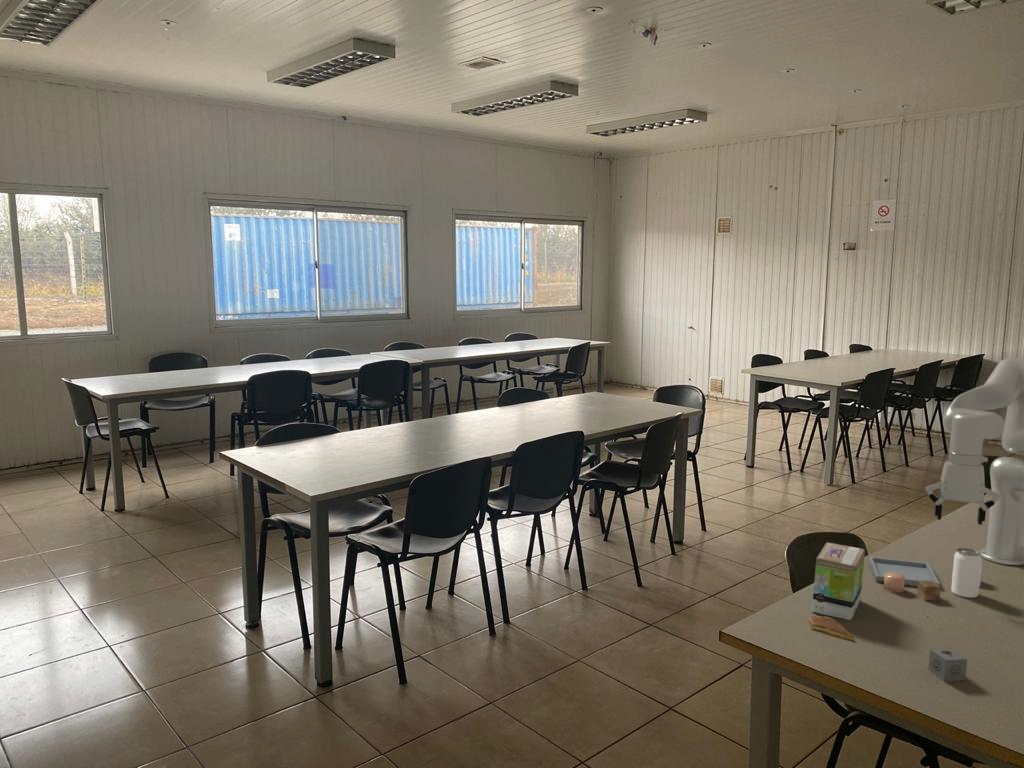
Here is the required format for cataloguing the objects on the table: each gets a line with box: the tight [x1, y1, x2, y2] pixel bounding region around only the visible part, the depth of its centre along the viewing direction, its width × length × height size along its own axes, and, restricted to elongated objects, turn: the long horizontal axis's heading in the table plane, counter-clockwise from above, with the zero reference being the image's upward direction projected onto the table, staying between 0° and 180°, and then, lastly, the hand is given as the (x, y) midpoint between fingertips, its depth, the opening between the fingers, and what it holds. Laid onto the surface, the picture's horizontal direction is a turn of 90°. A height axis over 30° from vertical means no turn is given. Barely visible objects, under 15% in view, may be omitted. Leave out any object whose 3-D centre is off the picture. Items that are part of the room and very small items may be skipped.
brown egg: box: [883, 572, 905, 594], centre depth 211 cm, size 5×5×4 cm
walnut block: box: [916, 581, 941, 602], centre depth 206 cm, size 4×4×4 cm
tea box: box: [811, 542, 866, 621], centre depth 199 cm, size 15×10×15 cm, turn 148°
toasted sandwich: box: [807, 615, 855, 641], centre depth 186 cm, size 11×8×2 cm
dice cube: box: [928, 647, 968, 683], centre depth 166 cm, size 5×5×5 cm
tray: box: [868, 556, 941, 588], centre depth 221 cm, size 16×16×2 cm
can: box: [950, 547, 983, 599], centre depth 208 cm, size 6×6×12 cm
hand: (959, 520), depth 207 cm, fingers open, 9 cm apart
